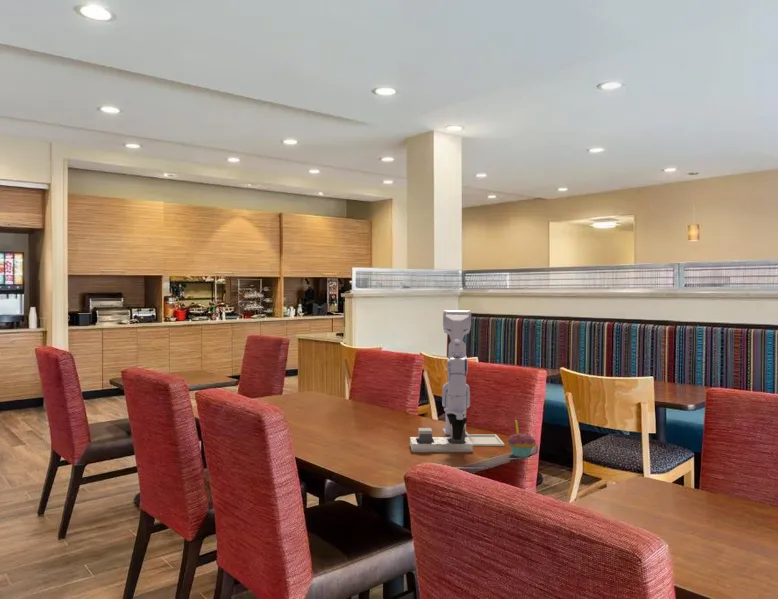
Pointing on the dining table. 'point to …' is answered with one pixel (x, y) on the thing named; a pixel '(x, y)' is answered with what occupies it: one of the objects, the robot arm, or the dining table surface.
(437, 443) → the pdu strip
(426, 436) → the twin plug
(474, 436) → the tray
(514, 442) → the cupcake
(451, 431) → the plug
